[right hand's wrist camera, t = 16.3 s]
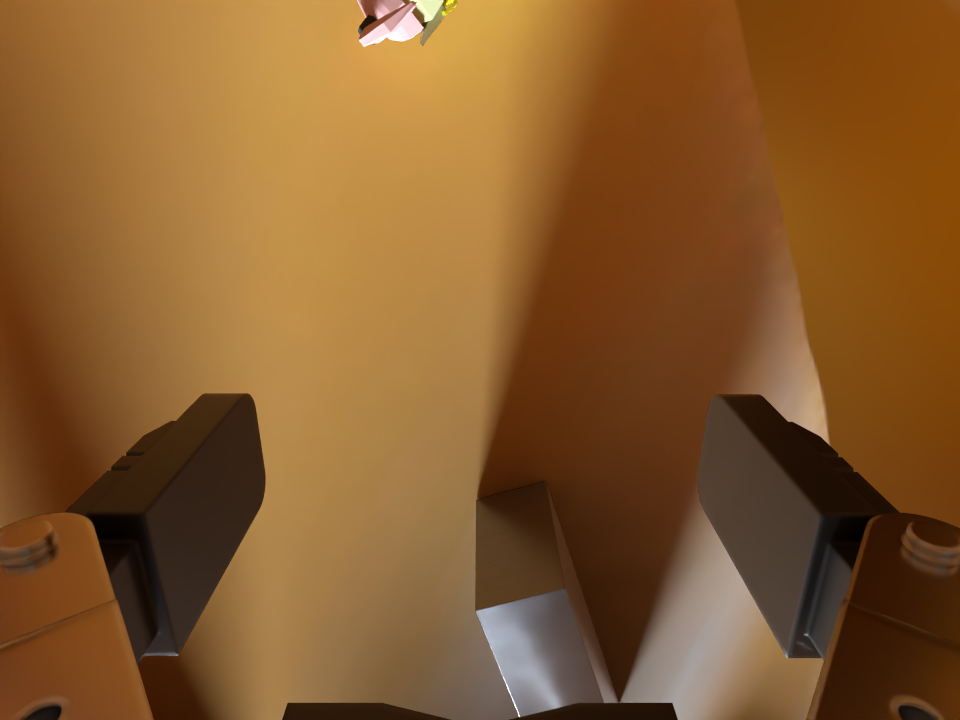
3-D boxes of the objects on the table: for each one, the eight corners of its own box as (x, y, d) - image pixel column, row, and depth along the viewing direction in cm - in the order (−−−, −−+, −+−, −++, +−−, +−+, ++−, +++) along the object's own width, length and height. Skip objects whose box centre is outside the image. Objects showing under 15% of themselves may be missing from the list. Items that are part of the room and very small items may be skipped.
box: (475, 499, 49) (474, 610, 38) (546, 480, 49) (565, 587, 38) (559, 718, 58) (577, 858, 47) (619, 704, 57) (652, 843, 47)
